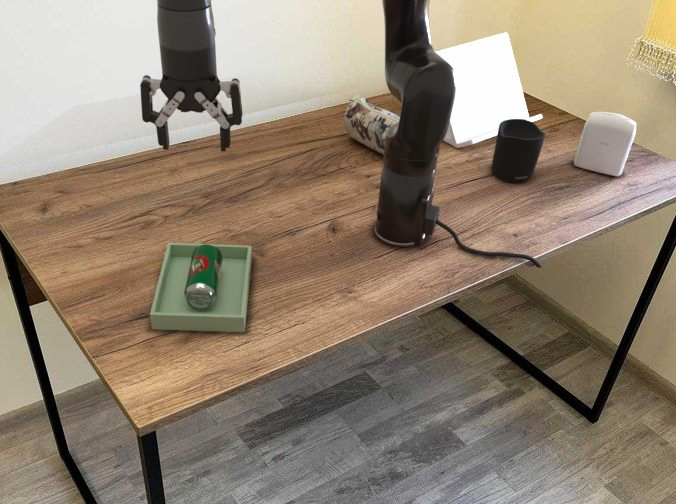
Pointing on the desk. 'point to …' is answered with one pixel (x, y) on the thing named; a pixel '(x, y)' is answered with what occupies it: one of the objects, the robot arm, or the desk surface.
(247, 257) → the tray
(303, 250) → the desk surface
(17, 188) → the desk surface
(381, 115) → the pencil case
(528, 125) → the pen holder
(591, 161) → the photo printer
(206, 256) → the soda can
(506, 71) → the tablet stand
